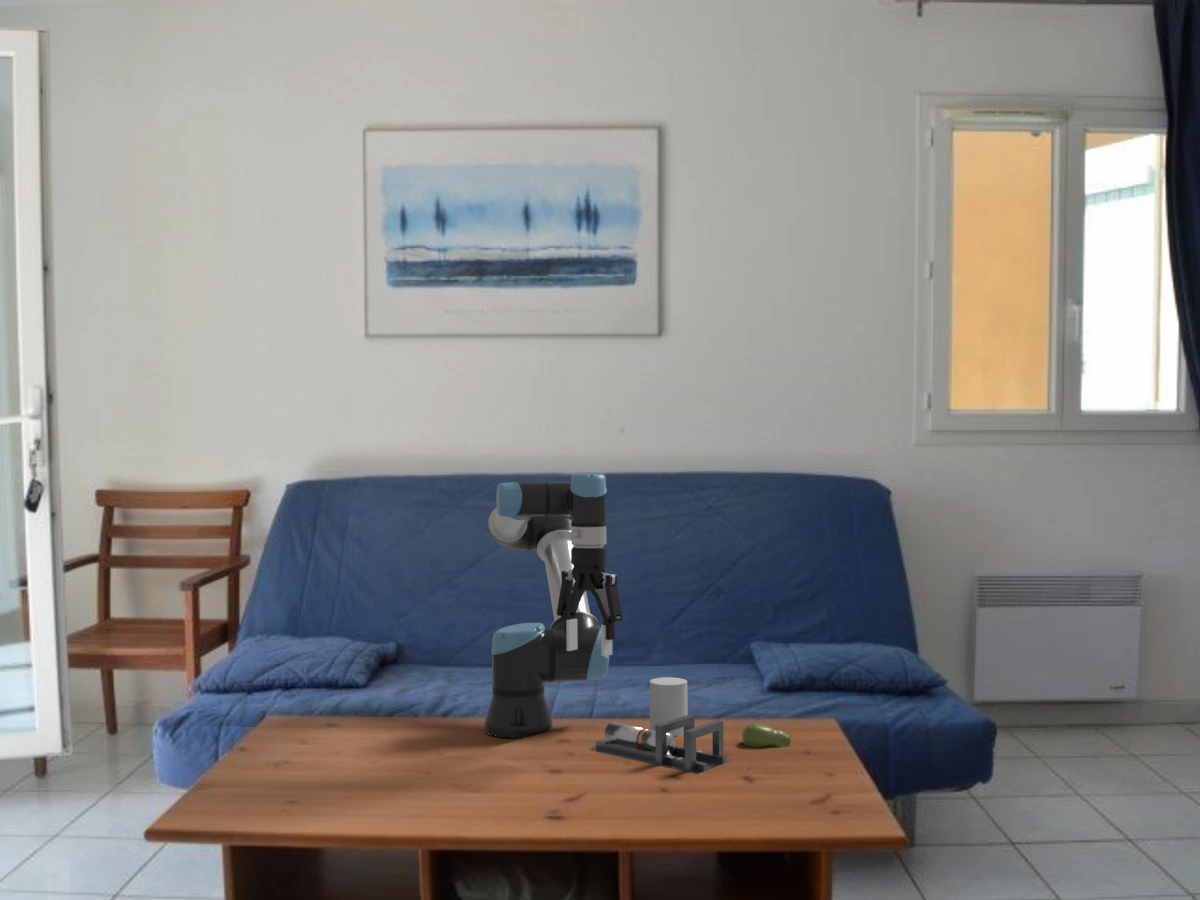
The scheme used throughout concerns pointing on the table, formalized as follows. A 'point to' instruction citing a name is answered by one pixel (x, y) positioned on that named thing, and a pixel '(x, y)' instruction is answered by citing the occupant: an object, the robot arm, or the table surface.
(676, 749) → the collar rail
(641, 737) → the tube
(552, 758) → the table surface
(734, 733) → the table surface
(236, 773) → the table surface
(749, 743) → the pear
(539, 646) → the robot arm
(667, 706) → the white cylinder
